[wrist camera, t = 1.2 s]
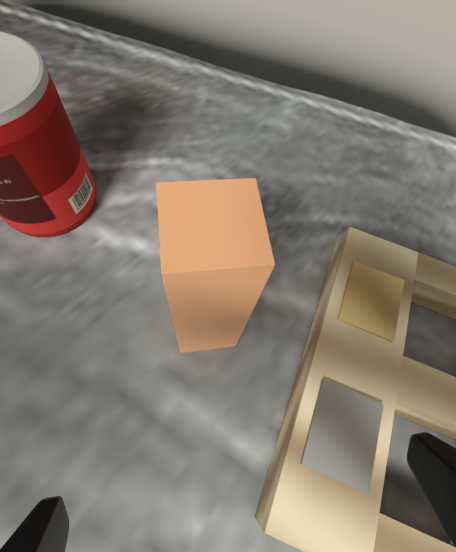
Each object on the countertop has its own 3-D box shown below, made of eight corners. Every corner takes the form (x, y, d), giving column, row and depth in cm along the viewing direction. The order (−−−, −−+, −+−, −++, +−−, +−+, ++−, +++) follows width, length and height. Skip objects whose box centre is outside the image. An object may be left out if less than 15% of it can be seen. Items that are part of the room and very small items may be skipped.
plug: (235, 346, 23) (275, 264, 11) (180, 353, 22) (161, 274, 11) (228, 295, 25) (255, 178, 13) (176, 300, 24) (156, 182, 12)
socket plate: (490, 629, 18) (549, 670, 15) (254, 517, 19) (265, 534, 16) (495, 307, 26) (533, 292, 23) (334, 246, 27) (351, 224, 25)
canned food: (86, 156, 29) (29, 19, 19) (110, 223, 27) (58, 103, 17) (-4, 178, 27) (-118, 38, 18) (11, 253, 25) (-113, 137, 15)
